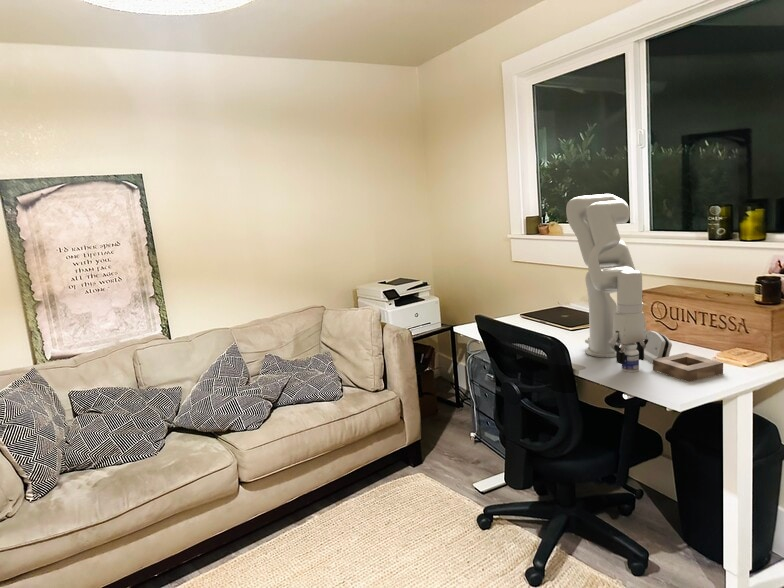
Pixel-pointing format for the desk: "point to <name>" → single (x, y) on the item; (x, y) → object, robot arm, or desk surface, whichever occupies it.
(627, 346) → the pill bottle
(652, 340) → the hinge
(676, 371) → the socket block
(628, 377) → the desk surface
